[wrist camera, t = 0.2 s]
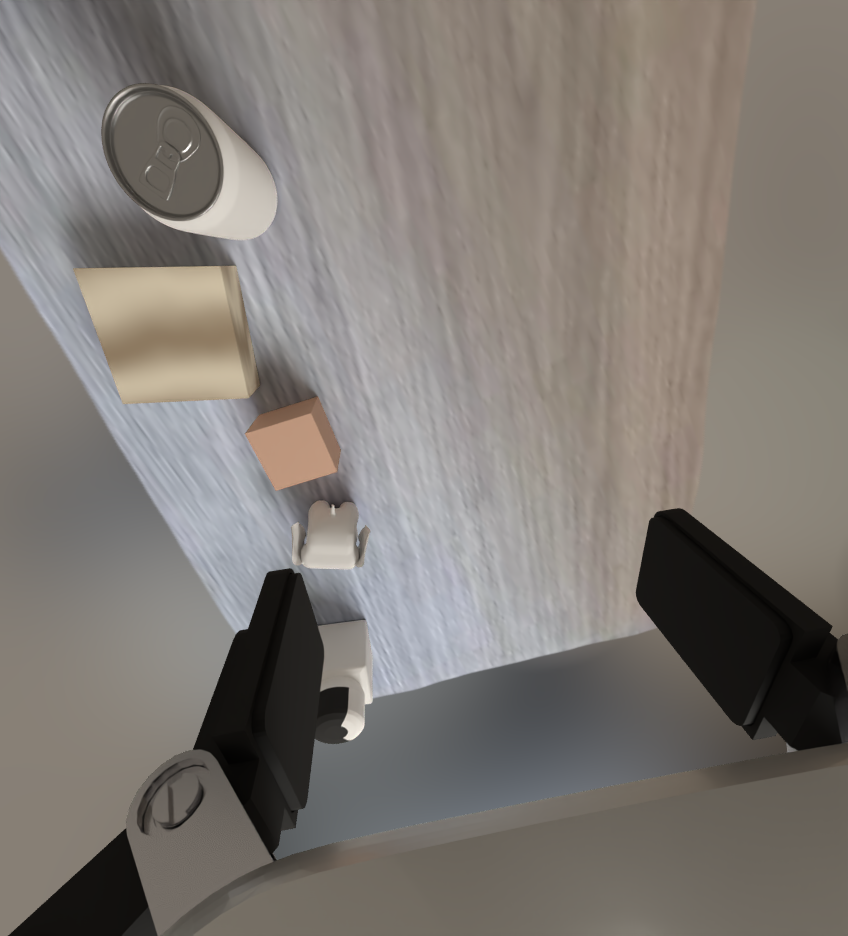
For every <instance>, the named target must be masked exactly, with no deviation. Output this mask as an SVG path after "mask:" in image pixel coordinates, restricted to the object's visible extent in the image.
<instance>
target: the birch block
mask: <svg viewBox="0 0 848 936" xmlns="http://www.w3.org/2000/svg"><path fill="white" fill-rule="evenodd" d="M73 270H74V272H75V275H76V278H77V280H78V283H79V286H80V289H81V291H82V294H83V297H84V299H85V302H86V305H87V308H88V310H89V313H90V316H91V318H92V321H93V324H94V327H95V329H96V332H97V335H98V337H99V340H100V343H101V346H102V348H103V351H104V354H105V356H106V359H107V362H108V365H109V367H110V370H111V373H112V375H113V378H114V381H115V384H116V386H117V389H118V392H119V394H120V397H121V400H122V403H123V404H133V403H155V402H176V401H198V400H219V399H241V398H249V397H250V396H251V395H252V394H253V393H254V392H255V391H256V390H257V388H258V387H259V386H260V382H259V377H258V372H257V367H256V362H255V357H254V352H253V347H252V342H251V337H250V332H249V327H248V322H247V317H246V312H245V307H244V303H243V298H242V293H241V288H240V283H239V278H238V273H237V268H236V266H189V267H125V268H73Z"/></svg>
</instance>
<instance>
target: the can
mask: <svg viewBox="0 0 848 936" xmlns="http://www.w3.org/2000/svg"><path fill="white" fill-rule="evenodd" d="M101 135H102V145H103V150H104V154H105V157H106V160H107V163H108V165H109V168H110V170H111V172H112V174H113V176H114V177H115V179H116V181H117V182H118V184H119V185H120V186H121V188H122V189H123V190H124V192H125V193H126V194H127V195H128V196H129V197H130V198H131V199H132V200H133V201H134V202H135V203H136V204H138V205H139V206H140V207H141V208H142V209H143V210H144V211H145V212H147V213H148V214H149V215H150V216H152V217H153V218H155V219H156V220H158V221H159V222H161V223H163V224H165V225H167V226H169V227H172V228H174V229H177V230H181V231H185V232H190V233H195V234H201V235H207V236H213V237H219V238H225V239H232V240H249V239H253V238H256V237H258V236H260V235H261V234H263V233H264V232H265V231H266V230H267V229H268V228H269V226H270V225H271V223H272V221H273V219H274V217H275V214H276V209H277V192H276V187H275V183H274V180H273V177H272V175H271V173H270V171H269V169H268V167H267V165H266V164H265V162H264V161H263V160H262V158H261V157H260V156H259V155H258V154H257V153H256V152H255V151H254V150H253V149H252V148H251V147H250V146H249V145H248V144H247V143H246V142H245V141H244V140H243V139H242V138H241V137H239V136H238V135H237V134H236V133H235V132H234V131H233V130H232V129H231V128H230V127H229V126H228V125H227V124H226V123H225V122H224V121H223V120H221V119H220V118H219V117H218V116H217V115H216V114H215V113H214V112H213V111H212V110H211V109H209V108H208V107H207V106H206V105H205V104H203V103H202V102H201V101H199V100H198V99H197V98H195V97H193V96H192V95H190V94H188V93H186V92H184V91H182V90H180V89H177V88H174V87H170V86H164V85H156V84H149V83H140V84H134V85H131V86H128V87H126V88H124V89H122V90H121V91H119V92H118V93H117V94H116V95H115V96H114V97H113V98H112V99H111V101H110V102H109V104H108V106H107V108H106V110H105V113H104V116H103V120H102V129H101Z"/></svg>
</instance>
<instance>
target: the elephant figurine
mask: <svg viewBox="0 0 848 936" xmlns="http://www.w3.org/2000/svg"><path fill="white" fill-rule="evenodd" d="M331 506H332V508H330V505H329V504H328V502H326V501H316V502H315V503H314V504H313V505H312V506H311V507H310V509H309V512H308V519H309V522H308V532H307V542H306V544H304V539H305V536H306V533H305V530H304V528H303V526H302V525H301V524H299V522H297V523H296V524H294V525H293V526H292V527H291V530H292V561H293V564H295V565H300V564H303V565H304V566H305V567H307V568H319V569H352V568H354V567H355V566H357V567H362V566H363V565H364V557H365V552H366V547H367V542H368V538H369V534H370V529H369V528H368V527H367V526H366V525H365V527H364V528H363V529H362V530H361V532H360V534H359V536H358V531H357V527H356V526H357V522H358V516H359V513H358V509H357V507H356V505H355V504H354V503H352V502H344V503H342V504H341V505H340V507H339V508H334V506H335V505H333V504H332V505H331ZM357 538H358V539H359V541H360V544H359V546H358V547H357V546H356V542H357Z"/></svg>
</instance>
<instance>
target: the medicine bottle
mask: <svg viewBox="0 0 848 936" xmlns="http://www.w3.org/2000/svg"><path fill="white" fill-rule="evenodd" d="M318 629H319V632H320V635H321V638H322V641H323V645H324V664H323V672H322V681H321V689H320V697H319V706H318V714H317V722H316V731H315V739H316V740H318V741H321V742H324V743H328V744H339V743H344V742H348V741H350V740H352V739H354V738H355V737H357V736H358V735H359V734H360V732H361V731H362V730H363V728H364V720H365V717H364V716H365V704H370V703H372V700H373V680H372V650H371V644H370V638H369V633H368V627H367V622H366V620H357V621H350V622H342V623H335V624H327V625H320V626H318Z"/></svg>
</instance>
